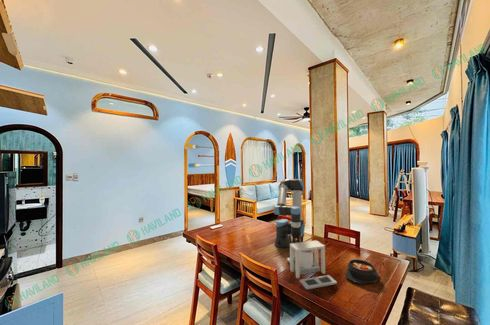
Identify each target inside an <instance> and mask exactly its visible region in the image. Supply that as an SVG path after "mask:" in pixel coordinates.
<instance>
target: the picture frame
mask: <svg viewBox="0 0 490 325" xmlns="http://www.w3.org/2000/svg"><path fill="white" fill-rule="evenodd" d="M295 243H298V240H297V239H296V240H295ZM286 261H287V262H288V263H289V264H290V257H286ZM294 261H295V257H294ZM294 270H295V264H294ZM315 272H316V273H317V272H318V273H319V272H321V266H320V265H319V266H317V265H315V262H313V265H312V267H311V268H305V269H300V275H303V274H311V273H315Z"/></svg>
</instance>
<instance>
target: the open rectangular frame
mask: <svg viewBox="0 0 490 325" xmlns="http://www.w3.org/2000/svg"><path fill="white" fill-rule="evenodd" d="M294 250H295V260H294ZM307 250H313V252H314V254H313V261H314V264H315V265H317V266H319V267H320V272H321V274H322V275H321V276H320V275H319V276H316V277H309V278H303V279H300V277H301V274H300V265H299V252H300V251H307ZM319 250H320V265H319ZM289 258H290V263H289V268H290V269H289V271H290V272H292V273H293V272H294V273H295V278H296V279H299V282H300V283H302V284H301V285H302V286H303V287H304V289H306V290H312V289H316V288H323V287H328V286H332V285H337V284H338V282H337V280H335V279H334V278H333V277H332V276H331V275H329V274H326V245H325V244H323V243H321V241H318V240H309V241H303V242H300V243H292V244H290V247H289ZM294 265H295V269H294Z"/></svg>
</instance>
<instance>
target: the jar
mask: <svg viewBox="0 0 490 325" xmlns="http://www.w3.org/2000/svg"><path fill="white" fill-rule="evenodd" d="M313 252H314V250H307V251H300V252H299V266H300V269H305V268H311V267H313V266H312V265H313V263H314V254H313Z"/></svg>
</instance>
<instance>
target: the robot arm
mask: <svg viewBox="0 0 490 325" xmlns="http://www.w3.org/2000/svg"><path fill="white" fill-rule="evenodd" d="M277 188H278V196H277V203H276V205H274V207H273V214H274V215H277V216H290V221H289V220H288V219H286V218H283V219H282V218H281V219H277V220H276V222H275V231H276V232H275V233H276V234H275V239H274V244H273V245H274V246H275V247H276V248H281V249H286V248H290V244H292V243H295V240H298V243H300V242H304V237H305V227H306V223H305V222H304V219H303V218H302V217H303V216H302V212H303V210H302V194H303V192H304V191H305V184H304V181H303V179H302V178H286V179H285V178H284V179H283V180H281V181H280V183H279V185H278V186H277ZM288 191H290V193H291V194H292V196H291V197H292V201H291V203H292V206H291V205H290V206H287V196H288V195H287V194H288ZM294 257H295V250H294Z"/></svg>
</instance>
